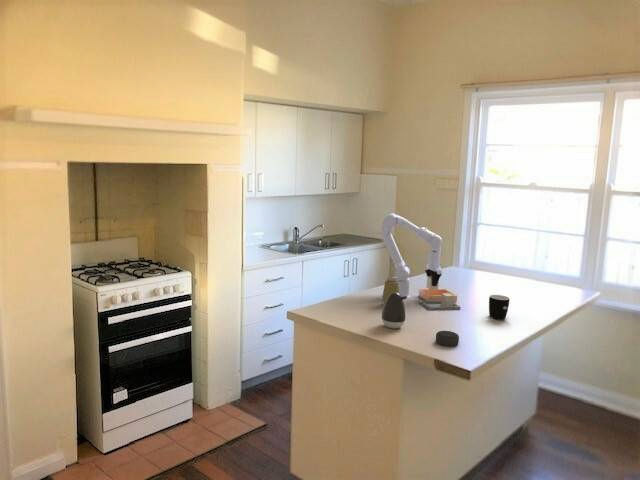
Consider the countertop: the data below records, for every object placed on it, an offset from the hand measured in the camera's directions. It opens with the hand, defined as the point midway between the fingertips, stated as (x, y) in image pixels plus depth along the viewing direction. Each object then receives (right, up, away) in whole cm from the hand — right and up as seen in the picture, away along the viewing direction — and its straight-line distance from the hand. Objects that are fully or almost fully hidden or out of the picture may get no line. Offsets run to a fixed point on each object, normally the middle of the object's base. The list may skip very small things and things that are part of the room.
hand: (432, 284), depth 276 cm
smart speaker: (-7, -18, -63) cm, 66 cm away
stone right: (+5, -10, -12) cm, 16 cm away
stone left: (0, -2, 0) cm, 2 cm away
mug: (+26, -14, -24) cm, 38 cm away
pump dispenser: (-26, -14, -46) cm, 55 cm away
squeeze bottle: (-23, -9, -13) cm, 28 cm away
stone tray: (+1, -10, -13) cm, 16 cm away
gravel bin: (+3, -8, +2) cm, 9 cm away
